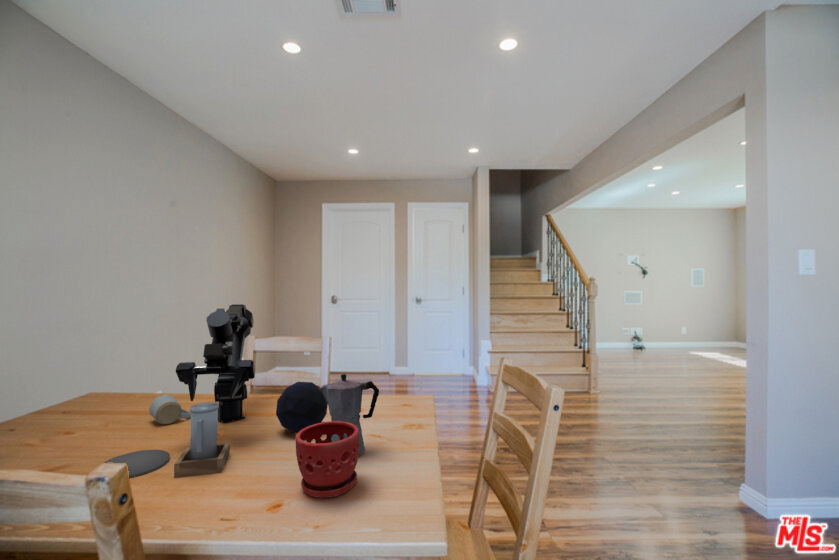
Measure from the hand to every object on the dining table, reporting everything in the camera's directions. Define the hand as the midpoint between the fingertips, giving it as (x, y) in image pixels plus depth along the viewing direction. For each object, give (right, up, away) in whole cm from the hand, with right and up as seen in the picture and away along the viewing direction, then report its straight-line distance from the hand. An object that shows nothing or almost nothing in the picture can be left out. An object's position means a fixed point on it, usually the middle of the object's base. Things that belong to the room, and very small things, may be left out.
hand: (211, 399), depth 101 cm
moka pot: (+35, -14, 0) cm, 38 cm away
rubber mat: (-14, -13, -8) cm, 21 cm away
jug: (+2, -13, -8) cm, 16 cm away
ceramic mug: (-25, -14, +23) cm, 37 cm away
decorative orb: (+19, -14, +15) cm, 28 cm away
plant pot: (+34, -14, -18) cm, 41 cm away
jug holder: (+2, -13, -8) cm, 16 cm away
